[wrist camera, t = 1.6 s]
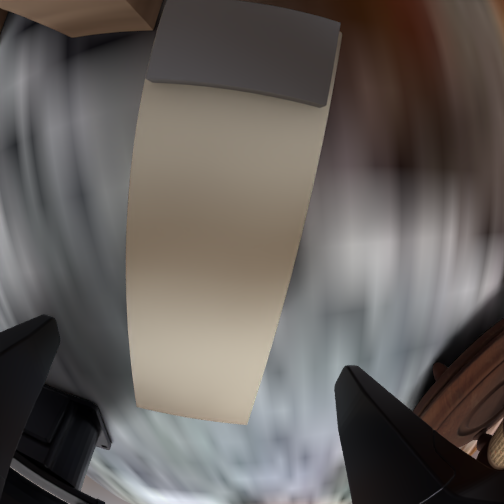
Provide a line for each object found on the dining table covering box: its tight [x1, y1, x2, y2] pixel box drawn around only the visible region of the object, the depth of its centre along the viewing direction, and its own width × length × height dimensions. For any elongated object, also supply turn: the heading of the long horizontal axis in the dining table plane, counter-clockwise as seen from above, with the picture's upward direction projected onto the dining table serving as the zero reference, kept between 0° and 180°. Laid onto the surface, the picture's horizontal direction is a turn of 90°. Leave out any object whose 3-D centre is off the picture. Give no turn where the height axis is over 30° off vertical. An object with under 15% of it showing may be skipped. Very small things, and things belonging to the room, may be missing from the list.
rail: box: [126, 0, 342, 425], centre depth 9 cm, size 12×4×6 cm, turn 170°
